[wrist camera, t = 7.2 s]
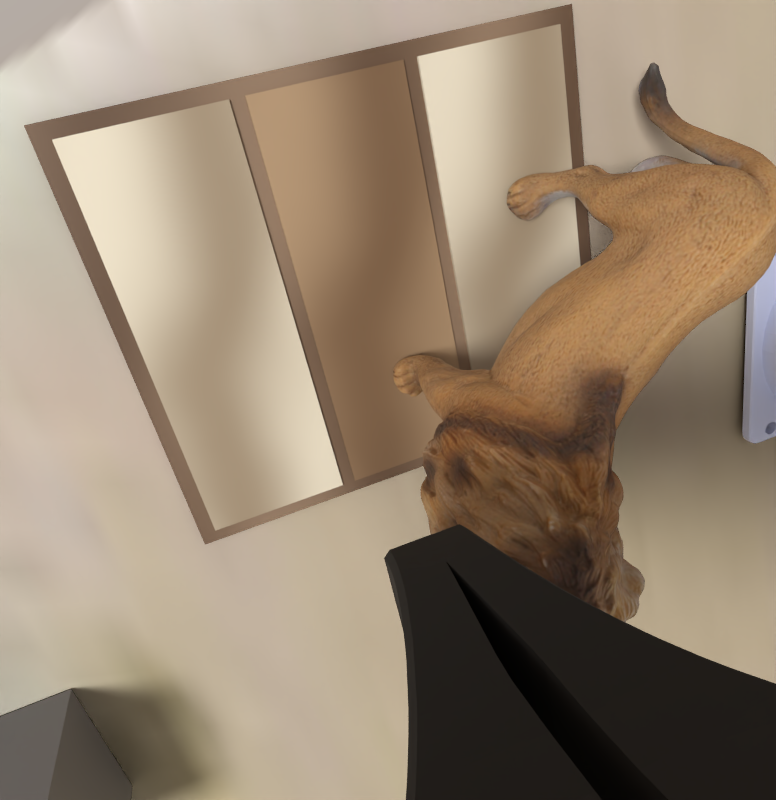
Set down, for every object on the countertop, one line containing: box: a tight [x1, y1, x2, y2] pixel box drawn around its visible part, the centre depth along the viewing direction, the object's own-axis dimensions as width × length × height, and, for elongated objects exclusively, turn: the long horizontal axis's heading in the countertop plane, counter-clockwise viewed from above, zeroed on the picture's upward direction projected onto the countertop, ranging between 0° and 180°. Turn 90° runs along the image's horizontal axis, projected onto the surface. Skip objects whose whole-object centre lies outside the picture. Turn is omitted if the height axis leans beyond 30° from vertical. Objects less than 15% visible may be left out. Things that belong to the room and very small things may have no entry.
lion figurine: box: [393, 63, 776, 622], centre depth 15 cm, size 15×5×9 cm, turn 152°
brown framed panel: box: [24, 4, 591, 544], centre depth 18 cm, size 14×12×1 cm
